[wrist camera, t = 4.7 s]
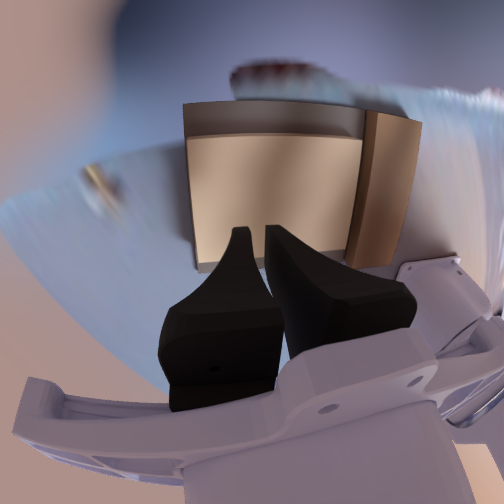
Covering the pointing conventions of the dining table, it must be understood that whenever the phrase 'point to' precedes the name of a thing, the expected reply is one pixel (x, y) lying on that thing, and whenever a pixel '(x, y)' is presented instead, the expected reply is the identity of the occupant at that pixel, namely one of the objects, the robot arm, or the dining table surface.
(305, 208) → the plank
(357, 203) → the floor board
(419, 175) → the dining table surface
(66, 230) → the dining table surface
